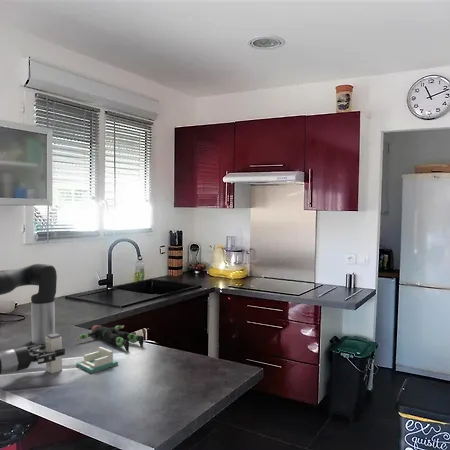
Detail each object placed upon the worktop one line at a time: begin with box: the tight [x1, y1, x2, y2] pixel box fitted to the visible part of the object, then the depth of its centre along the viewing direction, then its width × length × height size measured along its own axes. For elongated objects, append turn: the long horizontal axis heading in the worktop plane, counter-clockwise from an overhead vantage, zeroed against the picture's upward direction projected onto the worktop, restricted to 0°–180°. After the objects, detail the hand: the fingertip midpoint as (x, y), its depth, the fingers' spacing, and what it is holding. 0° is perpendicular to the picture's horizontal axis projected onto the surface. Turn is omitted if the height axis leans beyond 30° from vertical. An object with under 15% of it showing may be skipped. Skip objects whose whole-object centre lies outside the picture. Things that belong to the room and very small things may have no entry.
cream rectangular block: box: [45, 332, 63, 374], centre depth 158 cm, size 4×5×13 cm
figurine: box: [74, 324, 145, 352], centre depth 192 cm, size 26×6×30 cm
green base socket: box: [75, 346, 119, 374], centre depth 163 cm, size 10×11×5 cm
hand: (58, 348), depth 159 cm, fingers open, 8 cm apart
